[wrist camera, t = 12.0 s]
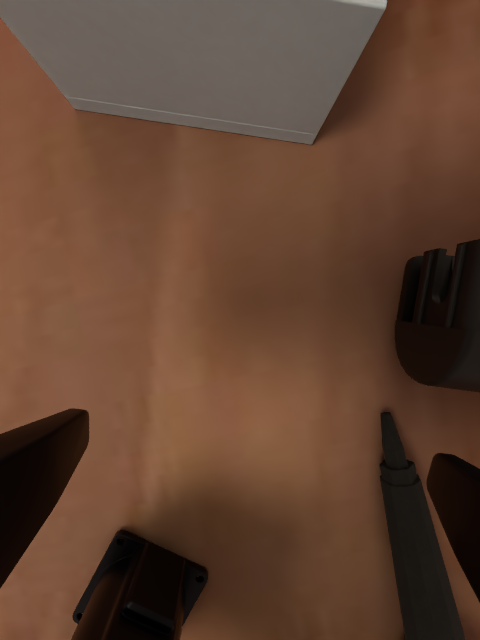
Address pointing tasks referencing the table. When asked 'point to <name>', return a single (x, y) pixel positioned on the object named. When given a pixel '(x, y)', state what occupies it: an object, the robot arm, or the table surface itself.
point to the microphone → (415, 547)
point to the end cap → (441, 318)
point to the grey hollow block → (200, 58)
